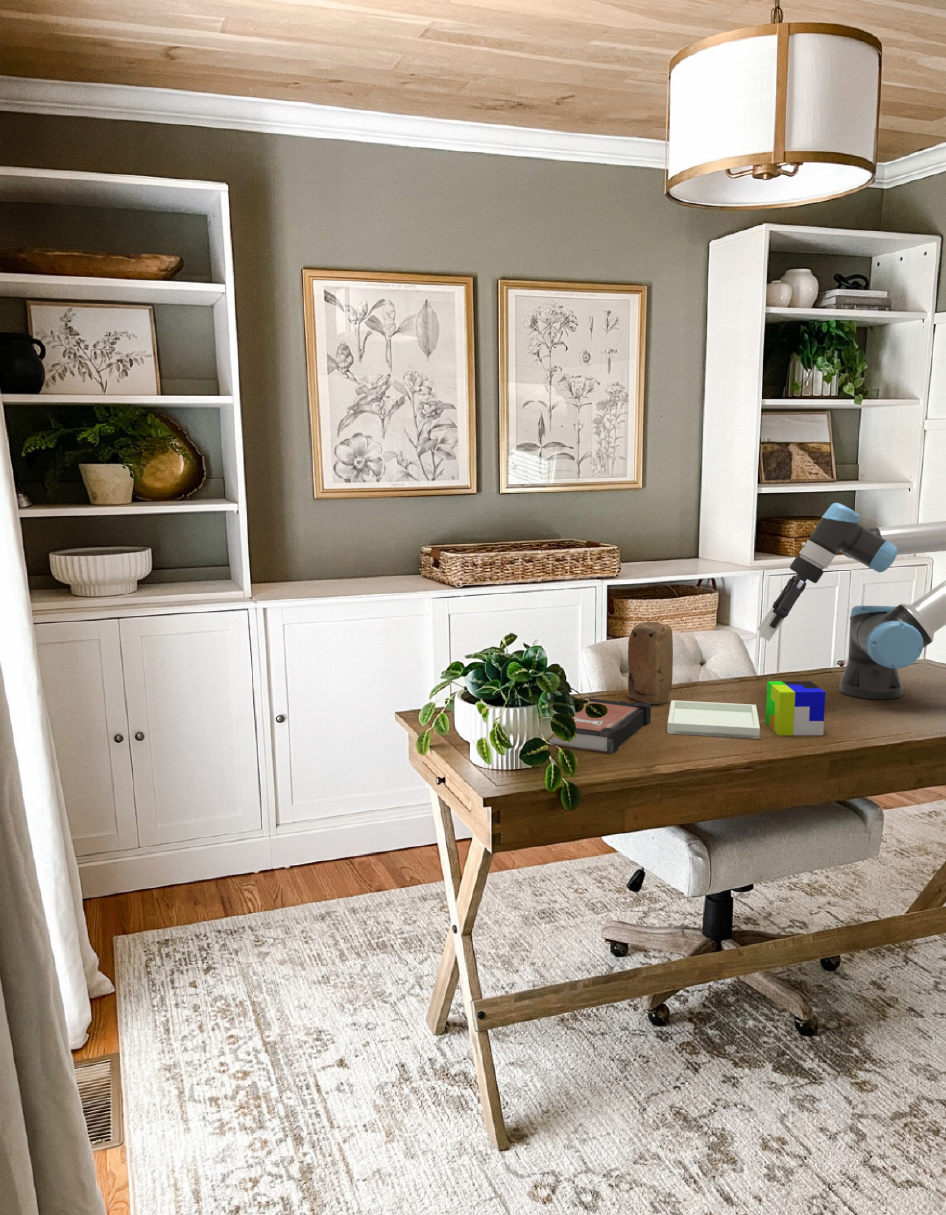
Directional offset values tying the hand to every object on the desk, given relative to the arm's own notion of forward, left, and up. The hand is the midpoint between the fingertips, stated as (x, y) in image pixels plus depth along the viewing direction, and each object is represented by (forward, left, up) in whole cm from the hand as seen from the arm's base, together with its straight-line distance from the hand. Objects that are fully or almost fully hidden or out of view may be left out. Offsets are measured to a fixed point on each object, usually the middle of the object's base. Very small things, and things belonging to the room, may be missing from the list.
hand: (762, 635), depth 237 cm
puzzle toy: (-6, +22, -18) cm, 29 cm away
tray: (+12, +22, -17) cm, 30 cm away
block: (+28, +4, -18) cm, 33 cm away
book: (+37, +34, -18) cm, 53 cm away
